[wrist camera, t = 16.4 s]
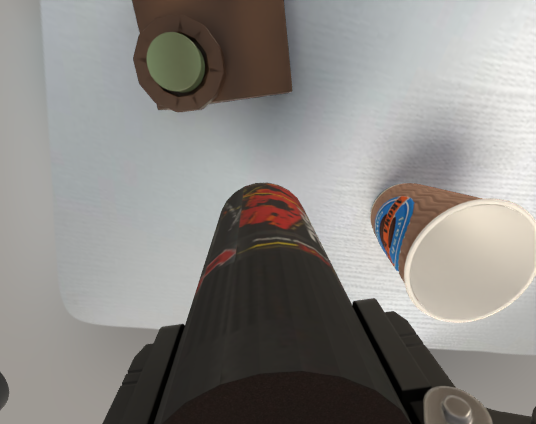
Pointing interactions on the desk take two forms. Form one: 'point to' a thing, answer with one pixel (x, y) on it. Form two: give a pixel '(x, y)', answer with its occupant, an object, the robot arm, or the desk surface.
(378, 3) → the desk surface
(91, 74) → the desk surface
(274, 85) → the button housing
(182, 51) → the green short cylinder
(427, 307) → the coffee cup
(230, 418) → the deodorant
